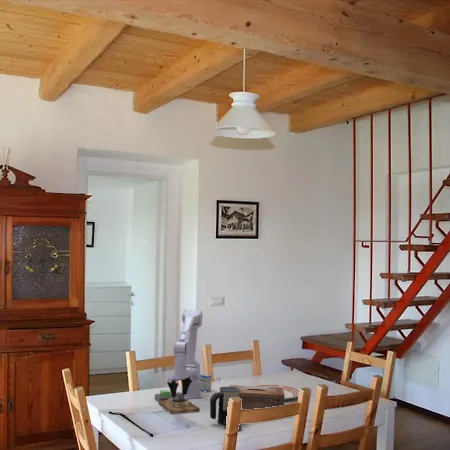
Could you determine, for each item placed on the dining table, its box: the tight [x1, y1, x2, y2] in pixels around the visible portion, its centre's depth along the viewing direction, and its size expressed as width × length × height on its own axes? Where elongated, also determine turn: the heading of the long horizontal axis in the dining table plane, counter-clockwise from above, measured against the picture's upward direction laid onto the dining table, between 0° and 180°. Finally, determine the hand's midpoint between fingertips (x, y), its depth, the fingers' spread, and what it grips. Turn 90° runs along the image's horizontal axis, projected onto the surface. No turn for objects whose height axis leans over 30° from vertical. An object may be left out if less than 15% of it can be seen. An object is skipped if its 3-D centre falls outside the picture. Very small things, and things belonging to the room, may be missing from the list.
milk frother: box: [209, 386, 242, 429], centre depth 251 cm, size 14×16×15 cm
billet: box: [172, 392, 185, 402], centre depth 275 cm, size 4×4×5 cm
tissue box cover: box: [229, 384, 285, 409], centre depth 277 cm, size 26×14×10 cm, turn 88°
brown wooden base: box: [158, 398, 200, 415], centre depth 275 cm, size 14×18×4 cm
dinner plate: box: [256, 383, 300, 401], centre depth 306 cm, size 27×27×3 cm
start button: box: [159, 389, 171, 397], centre depth 287 cm, size 4×4×2 cm
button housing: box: [154, 393, 173, 403], centre depth 287 cm, size 8×8×2 cm
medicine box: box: [198, 373, 213, 393], centre depth 311 cm, size 8×4×9 cm, turn 62°
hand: (179, 395), depth 275 cm, fingers open, 7 cm apart
